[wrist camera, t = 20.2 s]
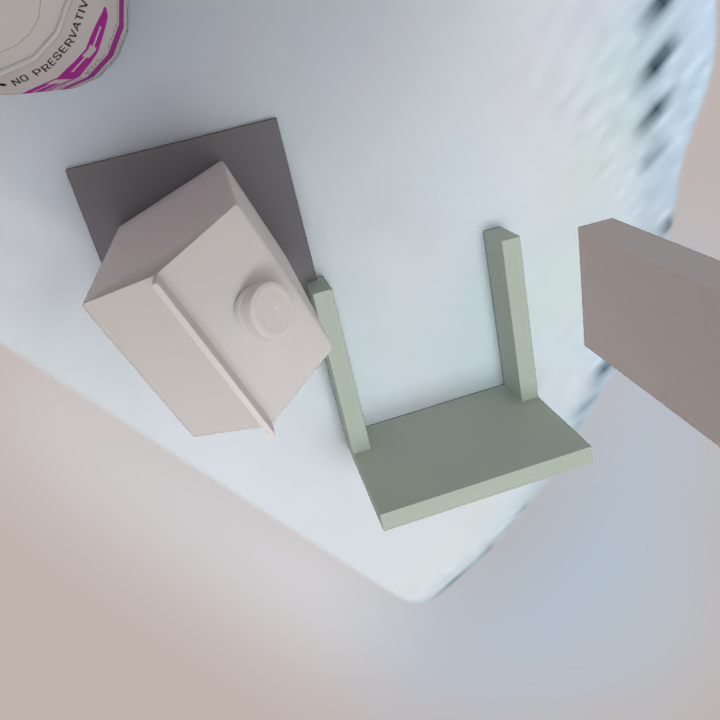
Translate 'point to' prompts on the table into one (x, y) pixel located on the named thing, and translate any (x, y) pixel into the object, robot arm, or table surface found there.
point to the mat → (180, 165)
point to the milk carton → (208, 308)
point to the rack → (457, 416)
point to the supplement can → (58, 42)
